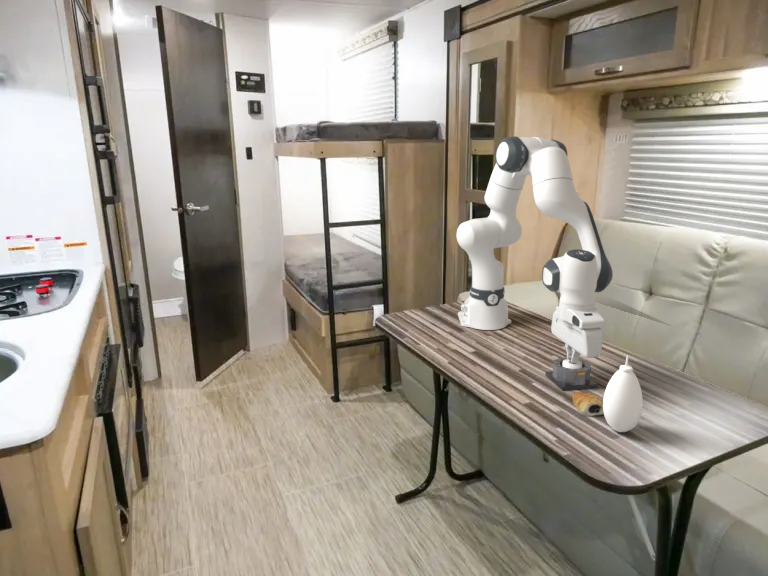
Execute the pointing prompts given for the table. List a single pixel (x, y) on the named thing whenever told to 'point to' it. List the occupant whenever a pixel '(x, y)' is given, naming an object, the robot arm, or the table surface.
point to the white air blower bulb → (623, 400)
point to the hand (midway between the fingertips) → (572, 361)
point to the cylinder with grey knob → (572, 364)
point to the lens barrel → (571, 376)
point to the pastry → (587, 404)
